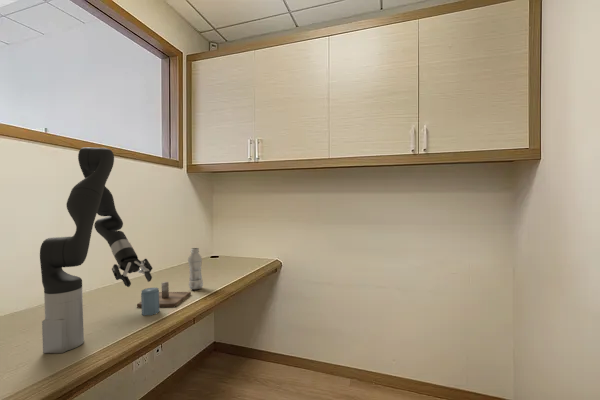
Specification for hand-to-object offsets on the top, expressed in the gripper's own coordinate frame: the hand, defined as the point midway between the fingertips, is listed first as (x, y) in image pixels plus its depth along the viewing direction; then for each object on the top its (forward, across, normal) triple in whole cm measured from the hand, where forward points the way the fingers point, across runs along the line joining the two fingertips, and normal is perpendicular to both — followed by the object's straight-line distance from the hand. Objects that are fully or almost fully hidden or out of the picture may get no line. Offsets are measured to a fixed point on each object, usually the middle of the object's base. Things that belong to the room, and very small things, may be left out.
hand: (140, 282), depth 123 cm
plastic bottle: (+5, +30, +10) cm, 32 cm away
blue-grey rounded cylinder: (+12, 0, +3) cm, 13 cm away
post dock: (+7, +12, +8) cm, 16 cm away
